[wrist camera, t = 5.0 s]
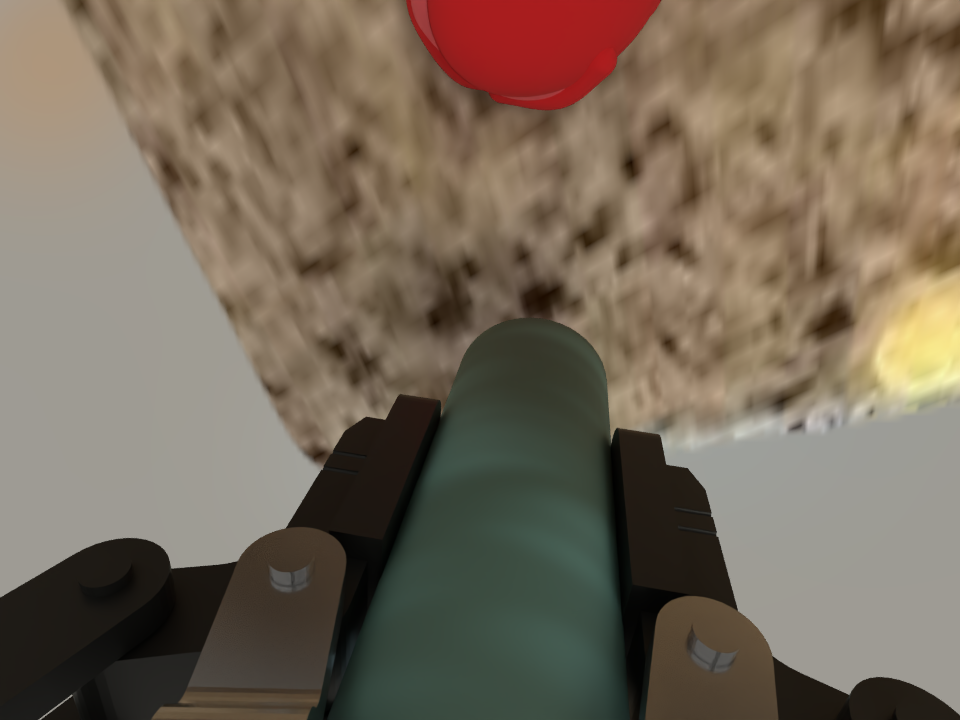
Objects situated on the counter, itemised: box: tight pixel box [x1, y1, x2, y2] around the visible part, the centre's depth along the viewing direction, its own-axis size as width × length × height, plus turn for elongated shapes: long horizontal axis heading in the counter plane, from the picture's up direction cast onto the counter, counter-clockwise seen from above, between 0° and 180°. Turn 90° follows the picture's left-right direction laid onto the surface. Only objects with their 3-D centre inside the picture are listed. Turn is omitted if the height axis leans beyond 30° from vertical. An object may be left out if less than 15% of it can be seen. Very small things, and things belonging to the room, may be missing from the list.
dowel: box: [327, 318, 630, 720], centre depth 9 cm, size 3×3×10 cm
